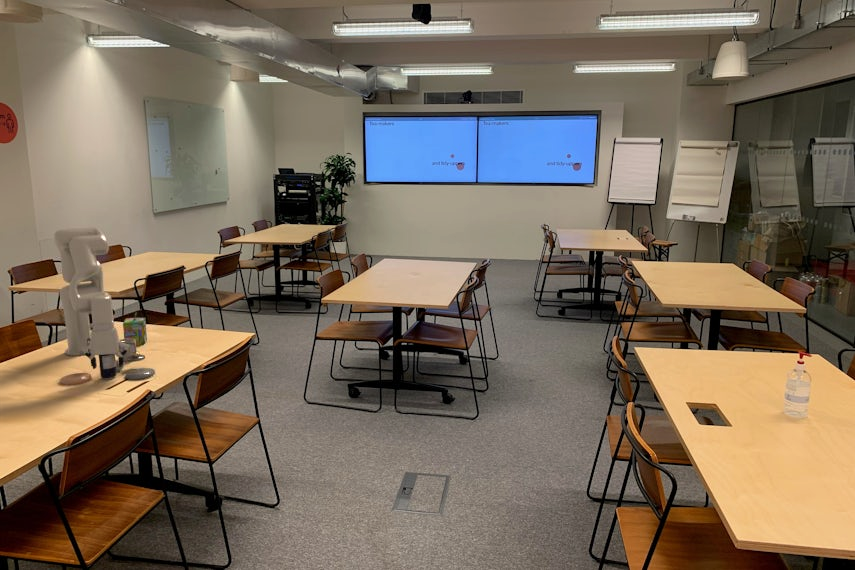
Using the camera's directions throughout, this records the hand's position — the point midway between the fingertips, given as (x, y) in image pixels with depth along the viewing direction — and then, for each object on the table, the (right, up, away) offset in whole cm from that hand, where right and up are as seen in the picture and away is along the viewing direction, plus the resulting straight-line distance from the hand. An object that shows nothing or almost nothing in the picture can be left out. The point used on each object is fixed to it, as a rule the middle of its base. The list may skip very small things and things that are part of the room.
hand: (107, 366), depth 251 cm
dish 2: (+11, -4, +4) cm, 13 cm away
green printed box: (-11, +5, +48) cm, 50 cm away
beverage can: (0, -5, +1) cm, 5 cm away
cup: (-4, 0, +23) cm, 24 cm away
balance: (-3, -3, +11) cm, 11 cm away
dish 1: (-12, -5, -2) cm, 13 cm away
